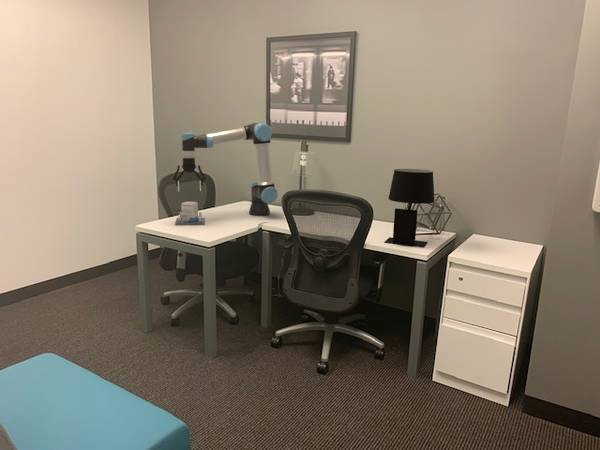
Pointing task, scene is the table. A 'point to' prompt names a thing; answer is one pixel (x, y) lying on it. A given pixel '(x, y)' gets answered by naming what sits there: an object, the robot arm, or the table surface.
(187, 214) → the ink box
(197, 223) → the chassis
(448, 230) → the table surface
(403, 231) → the table lamp
